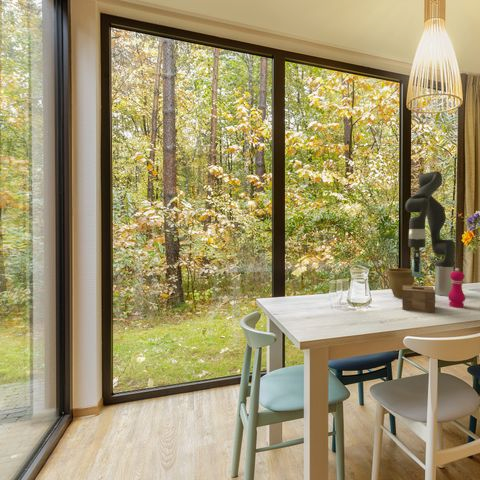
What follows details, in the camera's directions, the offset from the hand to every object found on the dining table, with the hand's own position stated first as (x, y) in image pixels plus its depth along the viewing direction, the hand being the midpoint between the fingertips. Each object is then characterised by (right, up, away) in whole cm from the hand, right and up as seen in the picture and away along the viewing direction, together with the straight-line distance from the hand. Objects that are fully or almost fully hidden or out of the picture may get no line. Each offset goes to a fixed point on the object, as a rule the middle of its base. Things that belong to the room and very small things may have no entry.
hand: (416, 271), depth 160 cm
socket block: (+1, -19, 0) cm, 19 cm away
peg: (0, -3, 0) cm, 3 cm away
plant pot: (+4, -18, +24) cm, 31 cm away
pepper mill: (+22, -19, +3) cm, 29 cm away
